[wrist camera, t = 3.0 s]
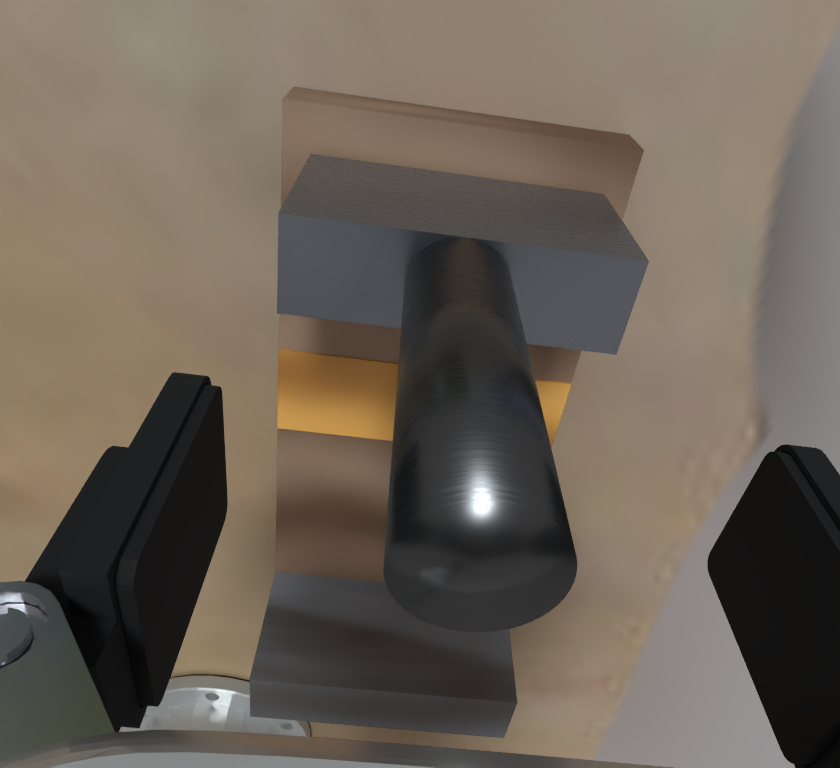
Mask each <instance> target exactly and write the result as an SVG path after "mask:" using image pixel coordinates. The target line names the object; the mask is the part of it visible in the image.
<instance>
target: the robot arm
mask: <svg viewBox="0 0 840 768" xmlns="http://www.w3.org/2000/svg"><path fill="white" fill-rule="evenodd" d="M226 512H227V482H226V462H225V441H224V421H223V401H222V390H221V387H219V386H211V381H210V378H209V377H208V376H201V375H193V374H184V373H176V372H174V373H172V374H171V375H170V377H169V378H168V380H167V382H166V383H165V385H164V387H163V389H162V390H161V392H160V394H159V396H158V397H157V399H156V401H155V403H154V404H153V406H152V408H151V410H150V411H149V413H148V415H147V417H146V418H145V420H144V422H143V423H142V425H141V427H140V429H139V430H138V432H137V434H136V436H135V437H134V439H133V441H132V443H131V444H130V446H129V448H127V447H118V446H112V447H110V448H108V449H107V450H106V451H105V453H104V454H103V455H102V457H101V458H100V460H99V462H98V463H97V465H96V467H95V468H94V470H93V471H92V473H91V475H90V476H89V478H88V480H87V481H86V483H85V484H84V486H83V488H82V489H81V491H80V493H79V494H78V496H77V497H76V499H75V501H74V502H73V504H72V506H71V507H70V509H69V510H68V512H67V514H66V515H65V517H64V519H63V520H62V522H61V523H60V525H59V527H58V528H57V530H56V532H55V533H54V535H53V536H52V538H51V540H50V541H49V543H48V545H47V546H46V548H45V549H44V551H43V553H42V554H41V556H40V558H39V559H38V561H37V563H36V564H35V566H34V567H33V569H32V571H31V572H30V574H29V576H28V577H27V579H26V580H25V582H23V581H14V582H1V583H0V768H672V767H661V766H650V765H638V764H627V763H615V762H605V761H593V760H582V759H570V758H559V757H547V756H536V755H524V754H513V753H502V752H490V751H478V750H466V749H454V748H442V747H430V746H418V745H405V744H393V743H381V742H369V741H357V740H345V739H333V738H320V737H310V728H309V725H308V722H307V721H297V720H285V719H273V718H261V717H250V682H247V681H243V680H238V679H234V678H229V677H220V676H212V675H192V676H183V677H175V678H171V679H170V677H171V674H172V671H173V668H174V665H175V662H176V660H177V657H178V654H179V651H180V648H181V645H182V642H183V639H184V637H185V634H186V631H187V628H188V625H189V622H190V619H191V616H192V614H193V611H194V608H195V605H196V602H197V599H198V596H199V593H200V591H201V588H202V585H203V582H204V579H205V576H206V573H207V570H208V568H209V565H210V562H211V559H212V556H213V553H214V550H215V547H216V545H217V542H218V539H219V536H220V533H221V530H222V527H223V524H224V521H225V517H226ZM708 572H709V575H710V578H711V580H712V582H713V585H714V587H715V590H716V592H717V594H718V597H719V600H720V602H721V605H722V607H723V609H724V612H725V614H726V617H727V619H728V622H729V624H730V626H731V629H732V631H733V634H734V636H735V639H736V641H737V644H738V646H739V648H740V651H741V653H742V656H743V658H744V661H745V663H746V666H747V668H748V670H749V673H750V675H751V678H752V680H753V683H754V685H755V687H756V690H757V692H758V695H759V697H760V700H761V702H762V704H763V707H764V710H765V712H766V714H767V717H768V719H769V722H770V724H771V727H772V729H773V731H774V734H775V736H776V739H777V741H778V744H779V746H780V749H781V751H782V752H783V755H784V757H785V758H786V759H787V760H788V761H789V762H791V763H794V765H795V768H840V475H839V473H838V472H837V471H836V469H835V468H834V466H833V465H832V463H831V462H830V461H829V459H828V458H827V457H826V455H825V454H824V453H823V452H822V451H821V450H819V449H817V448H810V447H802V446H794V445H781V446H780V447H778V448H777V449H776V450H775V452H769V453H768V454H767V455H766V456H765V457H764V459H763V461H762V462H761V464H760V466H759V468H758V470H757V471H756V473H755V475H754V476H753V478H752V480H751V482H750V484H749V485H748V487H747V489H746V491H745V492H744V494H743V496H742V497H741V499H740V501H739V503H738V504H737V506H736V508H735V510H734V511H733V513H732V515H731V517H730V519H729V520H728V522H727V524H726V525H725V527H724V529H723V531H722V532H721V534H720V536H719V538H718V539H717V541H716V543H715V545H714V546H713V548H712V550H711V552H710V554H709V557H708ZM120 727H121V730H122V732H119V730H120Z"/></svg>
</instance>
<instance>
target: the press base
mask: <svg viewBox="0 0 840 768" xmlns="http://www.w3.org/2000/svg"><path fill="white" fill-rule="evenodd" d="M643 151H644V150H643V149H642V148H641V147H640V146H639V145H638V144H637V143H636V141H635V140H634V139H633V138H632V137H631V136H630V135H626V134H619V133H612V132H605V131H598V130H591V129H584V128H577V127H570V126H563V125H556V124H549V123H542V122H535V121H528V120H521V119H514V118H507V117H500V116H493V115H486V114H479V113H472V112H465V111H458V110H451V109H444V108H437V107H430V106H423V105H416V104H409V103H402V102H395V101H388V100H381V99H374V98H367V97H360V96H353V95H347V94H340V93H333V92H326V91H319V90H312V89H305V88H298V87H293V88H292V89H291V90H290V92H289V93H288V94H287V95H286V96H285V97H284V98H283V133H282V196H281V207H282V206H283V204H284V202H285V200H286V198H287V196H288V194H289V193H290V191H291V189H292V187H293V185H294V183H295V181H296V179H297V178H298V176H299V174H300V172H301V170H302V168H303V166H304V165H305V163H306V161H307V159H308V157H309V155H310V154H317V155H324V156H331V157H339V158H346V159H353V160H360V161H368V162H375V163H382V164H390V165H397V166H404V167H412V168H419V169H426V170H434V171H441V172H448V173H455V174H463V175H470V176H477V177H485V178H492V179H499V180H507V181H514V182H521V183H528V184H536V185H543V186H550V187H558V188H565V189H572V190H580V191H587V192H594V193H601V194H605V195H606V197H607V199H608V200H609V202H610V203H611V205H612V206H613V208H614V209H615V211H616V212H617V214H618V215H619V217H620V218H621V220H622V218H623V215H624V212H625V209H626V205H627V202H628V199H629V196H630V193H631V190H632V186H633V183H634V180H635V177H636V174H637V170H638V167H639V164H640V161H641V158H642V154H643ZM400 336H401V328H394V327H386V326H377V325H369V324H361V323H353V322H344V321H336V320H328V319H320V318H312V317H303V316H295V315H287V314H280V323H279V358H278V423H277V428H278V450H277V513H276V572H275V576H274V580H273V584H272V588H271V593H270V597H269V601H268V605H267V609H266V613H265V617H264V622H263V626H262V630H261V634H260V638H259V642H258V646H257V651H256V655H255V659H254V663H253V667H252V671H251V675H250V680H249V682H250V717H261V718H273V719H285V720H297V721H308V722H320V723H332V724H344V725H356V726H368V727H380V728H392V729H404V730H416V731H428V732H440V733H452V734H464V735H476V736H488V737H500V738H504V736H505V734H506V731H507V728H508V726H509V723H510V720H511V718H512V715H513V713H514V710H515V707H516V705H517V697H516V688H515V679H514V670H513V661H512V652H511V644H510V635H509V629H505V630H500V631H492V632H461V631H454V630H449V629H444V628H440V627H437V626H434V625H431V624H429V623H426V622H424V621H422V620H420V619H418V618H416V617H414V616H413V615H411V614H410V613H408V612H407V611H406V610H404V609H403V608H402V607H401V606H400V605H399V604H398V603H397V602H396V601H395V600H394V598H393V597H392V596H391V594H390V592H389V590H388V589H387V586H386V583H385V580H384V574H383V566H384V552H385V538H386V525H387V511H388V498H389V484H390V471H391V457H392V444H393V430H394V417H395V403H396V390H397V376H398V363H399V349H400ZM527 347H528V351H529V355H530V360H531V364H532V368H533V373H534V377H535V381H536V385H537V390H538V394H539V398H540V403H541V407H542V411H543V416H544V420H545V424H546V428H547V433H548V437H549V441H550V446H551V448H552V444H553V441H554V438H555V435H556V432H557V429H558V425H559V422H560V419H561V416H562V413H563V409H564V406H565V403H566V400H567V397H568V394H569V390H570V387H571V381H572V378H573V375H574V372H575V368H576V365H577V362H578V359H579V356H580V352H581V350H575V349H566V348H558V347H550V346H542V345H534V344H527Z"/></svg>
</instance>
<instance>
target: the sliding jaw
mask: <svg viewBox="0 0 840 768" xmlns="http://www.w3.org/2000/svg"><path fill="white" fill-rule="evenodd" d="M648 262H649V261H648V259H647V258H646V256H645V255H644V253H643V252H642V250H641V249H640V247H639V246H638V244H637V242H636V241H635V239H634V238H633V236H632V235H631V233H630V232H629V230H628V229H627V227H626V226H625V224H624V223H623V221H622V220H621V218H620V217H619V215H618V214H617V212H616V211H615V209H614V208H613V206H612V205H611V203H610V202H609V200H608V199H607V197H606V195H605V194H601V193H594V192H587V191H580V190H572V189H565V188H558V187H550V186H543V185H536V184H528V183H521V182H514V181H507V180H499V179H492V178H485V177H477V176H470V175H463V174H455V173H448V172H441V171H434V170H426V169H419V168H412V167H404V166H397V165H390V164H382V163H375V162H368V161H360V160H353V159H346V158H339V157H331V156H324V155H317V154H310V155H309V157H308V159H307V161H306V163H305V165H304V166H303V168H302V170H301V172H300V174H299V176H298V178H297V179H296V181H295V183H294V185H293V187H292V189H291V191H290V193H289V194H288V196H287V198H286V200H285V202H284V204H283V206H282V207H281V209H280V211H279V223H278V297H277V313H279V314H287V315H295V316H303V317H312V318H320V319H328V320H336V321H344V322H353V323H361V324H369V325H377V326H386V327H394V328H401V336H400V349H399V363H398V376H397V390H396V403H395V417H394V430H393V444H392V457H391V471H390V484H389V498H388V511H387V525H386V538H385V552H384V566H383V574H384V580H385V583H386V586H387V589H388V590H389V592H390V594H391V596H392V597H393V598H394V600H395V601H396V602H397V603H398V604H399V605H400V606H401V607H402V608H403V609H404V610H406V611H407V612H408V613H410V614H411V615H413V616H414V617H416V618H418V619H420V620H422V621H424V622H426V623H429V624H431V625H434V626H437V627H440V628H444V629H449V630H454V631H461V632H492V631H500V630H505V629H510V628H514V627H517V626H521V625H523V624H526V623H528V622H531V621H533V620H535V619H537V618H539V617H541V616H543V615H544V614H546V613H547V612H549V611H550V610H552V609H553V608H554V607H555V606H557V605H558V604H559V603H560V602H561V601H562V600H563V599H564V598H565V596H566V595H567V593H568V592H569V591H570V589H571V587H572V585H573V583H574V580H575V577H576V572H577V558H576V553H575V549H574V544H573V540H572V536H571V532H570V527H569V523H568V519H567V514H566V510H565V506H564V501H563V497H562V493H561V489H560V484H559V480H558V476H557V471H556V467H555V463H554V458H553V454H552V450H551V446H550V441H549V437H548V433H547V428H546V424H545V420H544V416H543V411H542V407H541V403H540V398H539V394H538V390H537V385H536V381H535V377H534V373H533V368H532V364H531V360H530V355H529V351H528V347H527V344H534V345H542V346H550V347H558V348H566V349H575V350H583V351H591V352H599V353H608V354H617V351H618V348H619V345H620V343H621V340H622V337H623V334H624V331H625V328H626V325H627V322H628V320H629V317H630V314H631V311H632V308H633V305H634V302H635V300H636V297H637V294H638V291H639V288H640V285H641V282H642V279H643V277H644V274H645V271H646V268H647V265H648Z"/></svg>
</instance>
